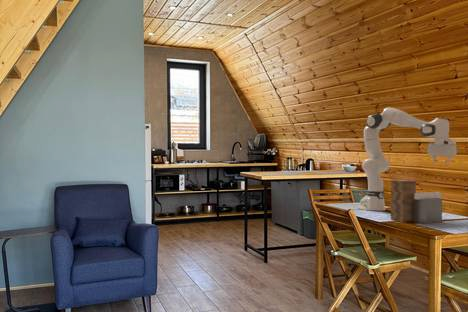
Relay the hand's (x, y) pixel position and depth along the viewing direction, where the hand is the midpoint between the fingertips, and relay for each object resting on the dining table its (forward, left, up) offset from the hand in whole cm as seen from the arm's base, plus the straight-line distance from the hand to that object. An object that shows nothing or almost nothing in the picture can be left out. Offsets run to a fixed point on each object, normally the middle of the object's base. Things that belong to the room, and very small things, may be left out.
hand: (441, 162), depth 293 cm
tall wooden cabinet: (-5, -29, -37) cm, 47 cm away
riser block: (+7, -20, -37) cm, 43 cm away
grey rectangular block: (+7, -20, -22) cm, 30 cm away
